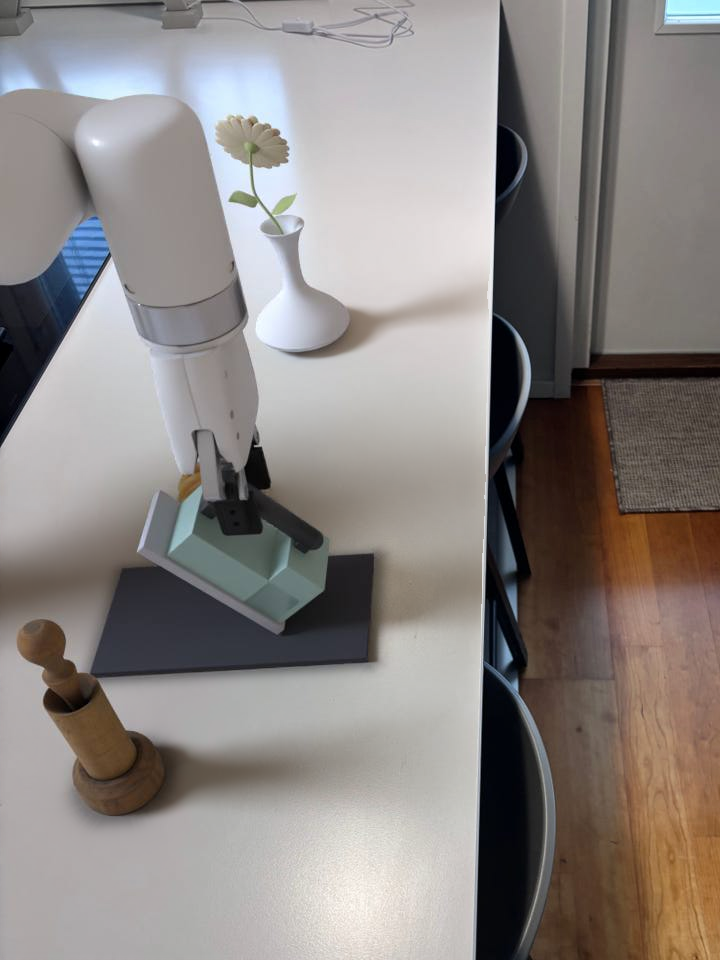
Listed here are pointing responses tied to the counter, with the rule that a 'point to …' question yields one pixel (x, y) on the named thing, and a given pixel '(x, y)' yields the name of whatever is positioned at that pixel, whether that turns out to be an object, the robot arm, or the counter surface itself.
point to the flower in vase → (282, 248)
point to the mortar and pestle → (92, 728)
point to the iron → (239, 555)
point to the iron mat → (231, 625)
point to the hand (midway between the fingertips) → (247, 508)
